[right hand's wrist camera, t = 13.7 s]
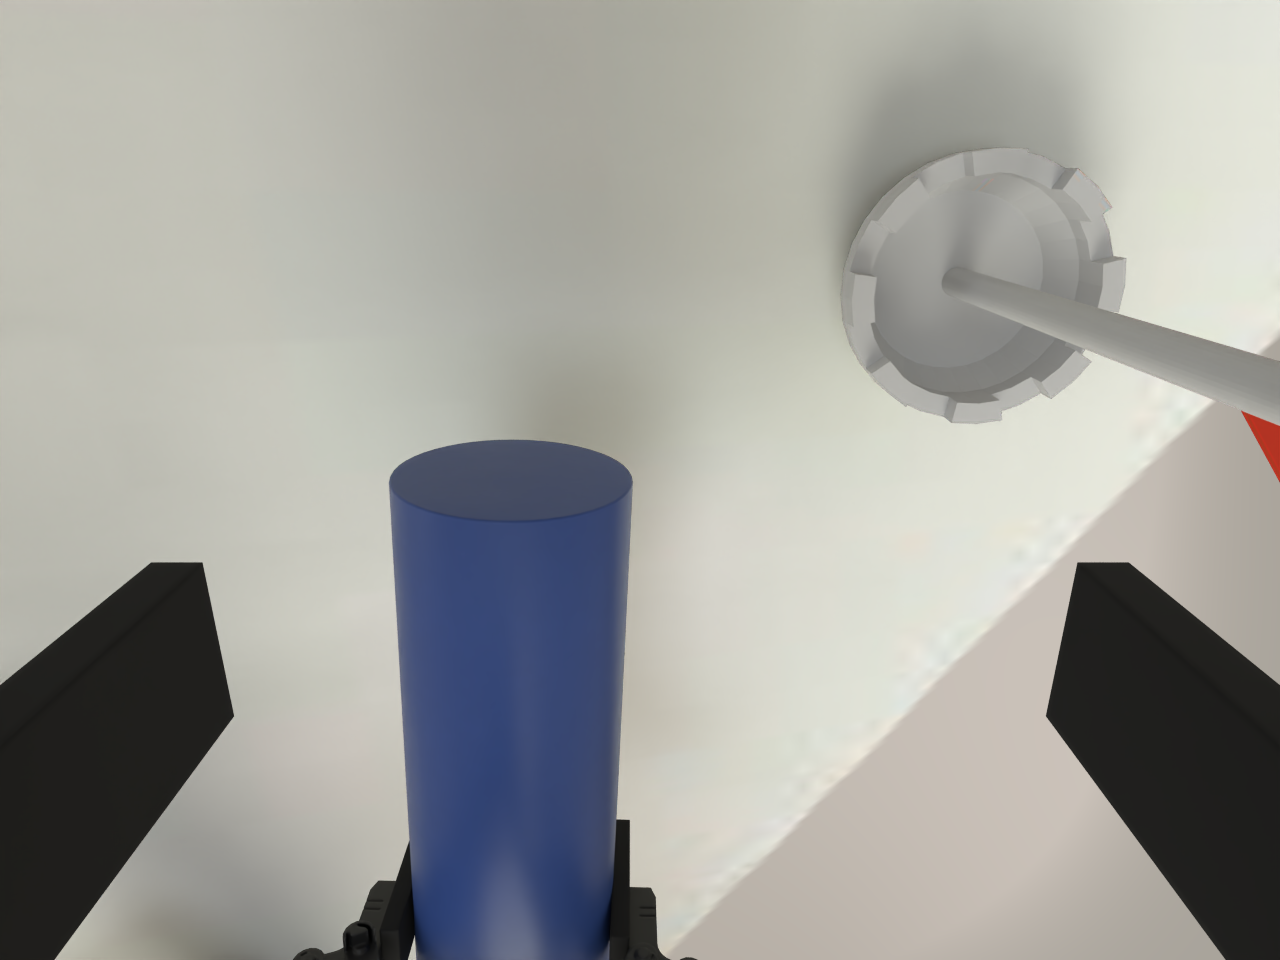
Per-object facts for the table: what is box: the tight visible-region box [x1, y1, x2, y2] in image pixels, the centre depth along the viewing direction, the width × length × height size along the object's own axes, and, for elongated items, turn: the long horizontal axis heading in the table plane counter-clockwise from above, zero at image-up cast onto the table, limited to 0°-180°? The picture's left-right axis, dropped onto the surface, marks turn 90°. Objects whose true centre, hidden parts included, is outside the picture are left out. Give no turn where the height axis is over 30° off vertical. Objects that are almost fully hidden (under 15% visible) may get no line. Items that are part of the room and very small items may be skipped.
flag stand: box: [841, 147, 1280, 482], centre depth 31 cm, size 13×13×30 cm
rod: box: [389, 440, 633, 960], centre depth 33 cm, size 23×8×8 cm, turn 177°
